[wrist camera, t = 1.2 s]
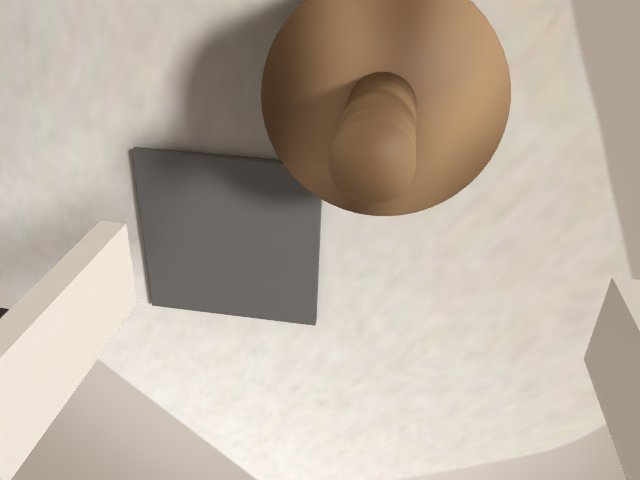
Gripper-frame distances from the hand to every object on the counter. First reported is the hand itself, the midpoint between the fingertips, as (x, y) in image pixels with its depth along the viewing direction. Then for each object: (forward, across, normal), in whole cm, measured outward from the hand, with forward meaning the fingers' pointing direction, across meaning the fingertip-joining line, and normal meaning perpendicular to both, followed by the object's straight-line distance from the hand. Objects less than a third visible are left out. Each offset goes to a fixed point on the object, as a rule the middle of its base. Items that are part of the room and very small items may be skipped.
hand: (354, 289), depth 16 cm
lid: (+18, 0, 0) cm, 18 cm away
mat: (+25, -11, -14) cm, 31 cm away
